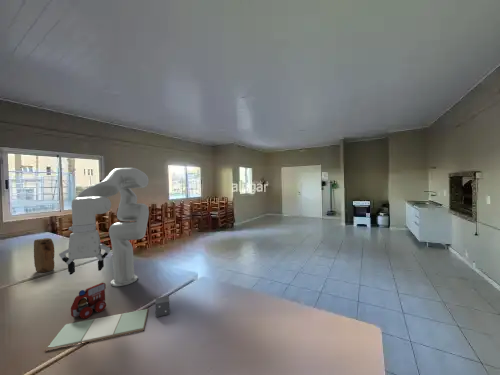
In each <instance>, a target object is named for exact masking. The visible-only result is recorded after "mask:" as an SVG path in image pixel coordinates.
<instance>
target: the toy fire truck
mask: <svg viewBox="0 0 500 375" xmlns="http://www.w3.org/2000/svg"><path fill="white" fill-rule="evenodd" d="M106 286H107V285H106V283H105V282H101V283H98V284H95V285H92V286H90V287H87V288H86V289H85V290H84V289H82V290H79V292H78V295H76V296H75V298H74V299H73V302H72V304H71V307H70V316H71V317H72V318H77V317H80V318H81V319H82V320H83V319H84V320H85V319H88V318H90V317H91V315H93V310H94V311H95V312H96V313H101V312H104V310H105V309H106V307H107V303H106V292H105V291H106Z"/></svg>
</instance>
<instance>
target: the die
mask: <svg viewBox="0 0 500 375" xmlns="http://www.w3.org/2000/svg"><path fill="white" fill-rule="evenodd" d="M170 304H171V303H170V295H167V296H162V297H161V296H160V297H155V318H158V317H163V316H167V315H170V314H171V310H170V307H171V306H170Z"/></svg>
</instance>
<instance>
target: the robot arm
mask: <svg viewBox="0 0 500 375" xmlns="http://www.w3.org/2000/svg"><path fill="white" fill-rule="evenodd" d="M148 185H149V177H148V175H147V174H146V172H144V171H142V170H141V169H138V168H136V167H117V168H114V169H112V170H111V171H110V172H109V173H108V174H107V175H106V176H105V177H104V179H103V180H102V181H100V182H98V183H95V184H94V185H91V186H88V187H86V188H85V189H83V190H81V192H79V193H78V194H76V196H75V198H73V199H72V201H71V215H72V216H71V218H72V225H71V226H69V227H68V231H71V232H72V233H70V234H69V240H68V248H67V249H65V250H64V251H62V252H60V253H59V254H58V256H59V257H60V259H61V261H62V262H64V263H65V264H66V265H67V272H68V273H69V275H73V274H74V273H75V272H76V266H75V264H76V263H75V260H81V259H82V260H84V259H90V258H97V269H98V271H99V272H101V271H102V270H103V268H104V266H105V265H104V264H105V263H104V262H105V258H106V257H107V256H108V255H109V253H110V252H112V267H113V269H112V270H113V272H112V273H113V279H112V280H111V281H110V285H111V286H112V287H123V286H124V287H125V286H128V285H131V284H134V283H135V282H136V281H137V280H138V275H136V274H135V266H134V264H135V262H134V248H133V244H132V243H131V242H130V240H131V241H133V240H136V241H137V240H141V239H143V238H145V236H146V234H147V226H148V221H149V215H150V211H149V206H148V204H145V203H139V202H138V196H137V194H136V193H135V191H133V190H132V189H143V188H146V187H147V186H148ZM118 193H119V195H120V201H119V205H118V208H117V212H116V218H117V220H119V221H118V222H115V223H112V224H111V225H110V226H109V229H108V235H109V238H110V242H111V243H110V244H111V247H110V246H107V245H104V244H102V243H101V238H100V234H99V233H100V232H99V230H97V224H96V220H97V219H96V215H101V214H102V215H103V214H106V213H108V212H109V211H110V210H111V208H112V202H111V200H110V197H112V196H114V195H116V194H118ZM137 202H138V203H137ZM102 250H103V251H104V253H102ZM111 250H112V251H111ZM66 254H67V255H68V256H67V255H66Z"/></svg>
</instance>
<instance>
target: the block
mask: <svg viewBox="0 0 500 375" xmlns="http://www.w3.org/2000/svg"><path fill="white" fill-rule="evenodd" d="M33 259H34V260H33V261H34V262H33V264H34V267H35V268H34V269H35V272H37V273H48V272H51V271H53V270H55V245H54V241H53V240H52V238H50V237H49V238H48V237H45V238H39V239H37V238H36V239H35V240H33Z"/></svg>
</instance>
